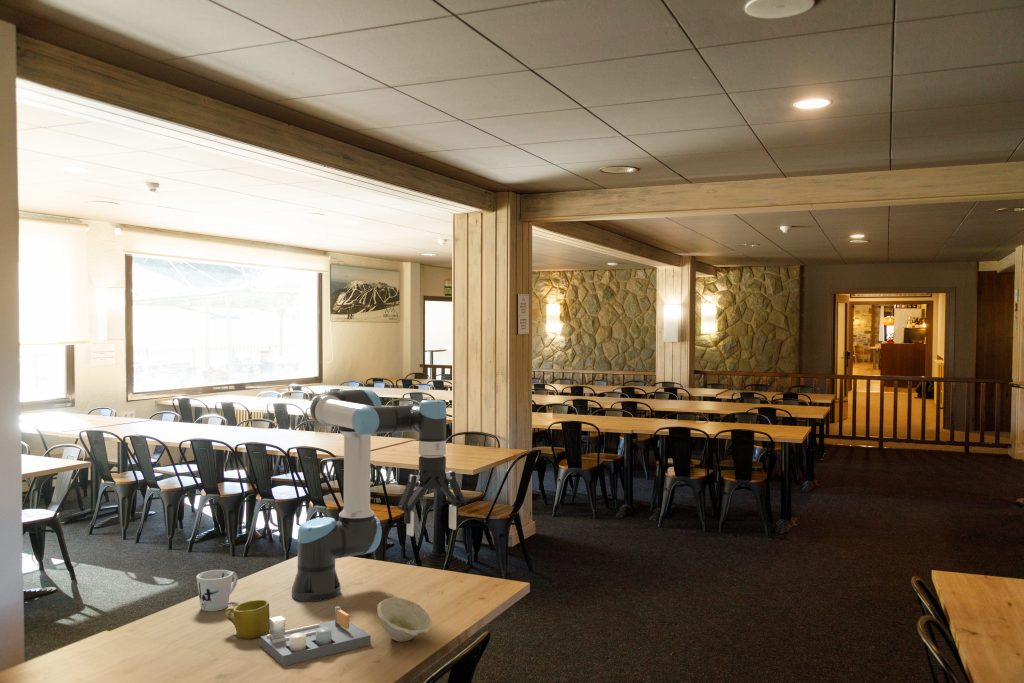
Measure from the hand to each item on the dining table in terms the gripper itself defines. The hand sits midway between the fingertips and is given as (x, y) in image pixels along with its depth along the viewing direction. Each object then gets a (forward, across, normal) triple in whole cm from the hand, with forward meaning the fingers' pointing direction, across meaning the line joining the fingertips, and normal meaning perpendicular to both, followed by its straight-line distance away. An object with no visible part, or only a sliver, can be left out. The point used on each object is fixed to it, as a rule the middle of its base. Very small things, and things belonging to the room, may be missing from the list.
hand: (431, 531), depth 220 cm
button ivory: (+26, -37, +4) cm, 45 cm away
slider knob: (+25, -39, +12) cm, 48 cm away
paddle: (+25, -22, +10) cm, 35 cm away
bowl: (+28, -9, -1) cm, 29 cm away
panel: (+28, -30, +9) cm, 42 cm away
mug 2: (+28, -42, +28) cm, 58 cm away
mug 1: (+28, -42, +56) cm, 75 cm away
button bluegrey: (+26, -30, +4) cm, 40 cm away
